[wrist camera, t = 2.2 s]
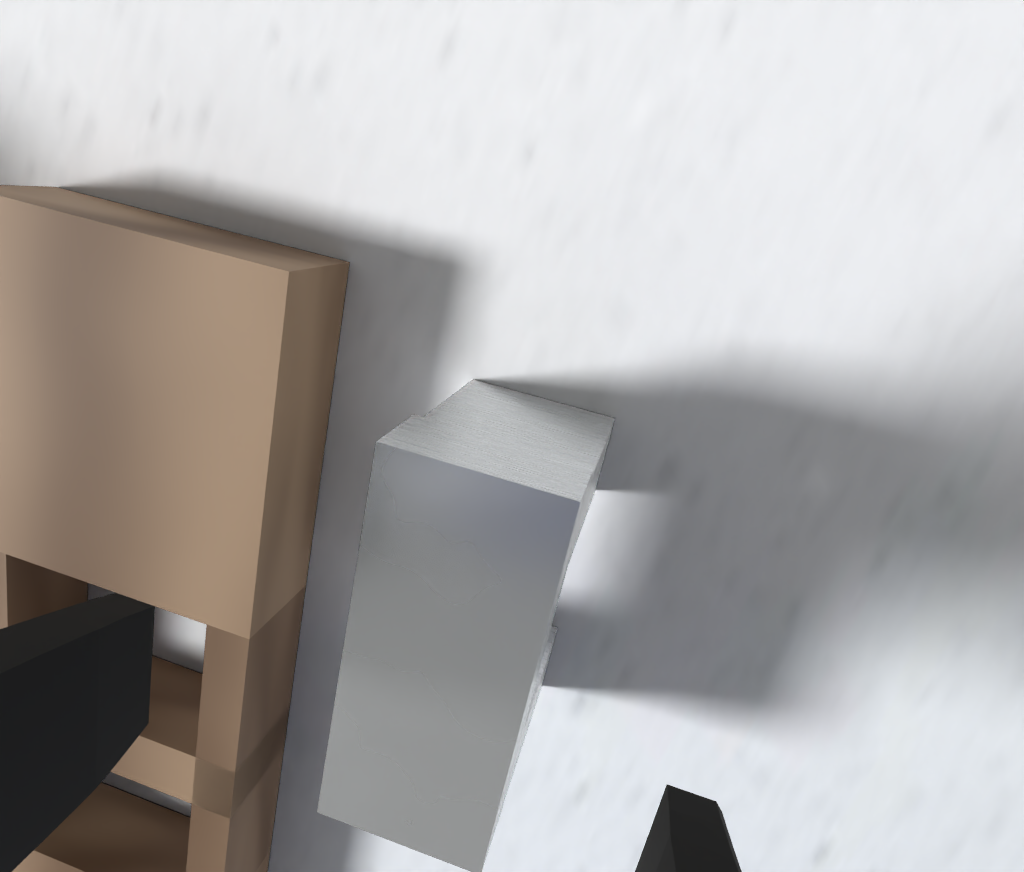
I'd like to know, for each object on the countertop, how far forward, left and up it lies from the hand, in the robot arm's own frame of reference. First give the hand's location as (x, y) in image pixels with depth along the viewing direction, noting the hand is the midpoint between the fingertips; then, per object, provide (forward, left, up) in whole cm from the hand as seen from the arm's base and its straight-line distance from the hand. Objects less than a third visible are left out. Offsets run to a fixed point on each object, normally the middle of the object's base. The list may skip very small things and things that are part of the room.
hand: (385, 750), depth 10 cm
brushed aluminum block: (0, 0, -7) cm, 7 cm away
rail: (+8, +7, -7) cm, 13 cm away
